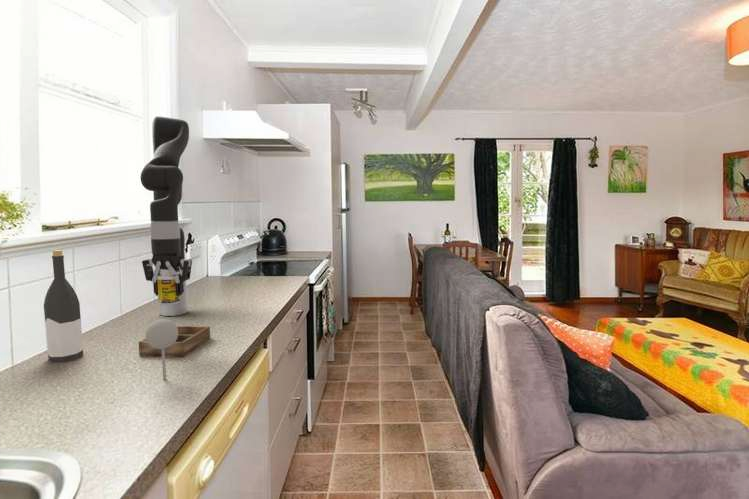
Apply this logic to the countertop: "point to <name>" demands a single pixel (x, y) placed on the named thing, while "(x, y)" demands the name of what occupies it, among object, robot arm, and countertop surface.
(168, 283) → the supplement bottle
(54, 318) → the wine bottle
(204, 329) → the walnut crate
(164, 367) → the lollipop
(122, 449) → the countertop surface
